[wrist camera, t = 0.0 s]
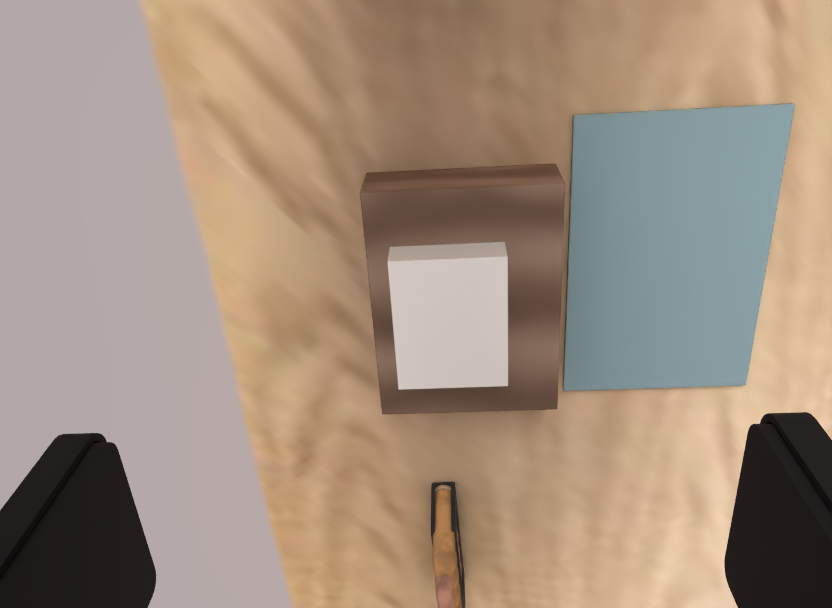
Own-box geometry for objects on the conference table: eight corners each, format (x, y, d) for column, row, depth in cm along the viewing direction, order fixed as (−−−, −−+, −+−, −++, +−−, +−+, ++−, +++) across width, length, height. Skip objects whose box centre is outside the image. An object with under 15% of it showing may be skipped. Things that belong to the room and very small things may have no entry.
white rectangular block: (389, 247, 45) (387, 261, 43) (504, 242, 44) (507, 256, 42) (400, 370, 49) (398, 389, 47) (505, 367, 48) (508, 386, 46)
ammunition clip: (431, 481, 58) (428, 606, 48) (454, 480, 58) (456, 604, 47) (442, 577, 63) (442, 709, 52) (464, 576, 63) (468, 708, 52)
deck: (366, 173, 47) (360, 193, 43) (555, 163, 46) (564, 183, 42) (386, 382, 54) (382, 414, 50) (549, 377, 53) (557, 409, 50)
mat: (573, 114, 44) (574, 116, 44) (792, 103, 44) (794, 104, 43) (563, 387, 54) (563, 391, 53) (743, 382, 53) (745, 385, 52)
